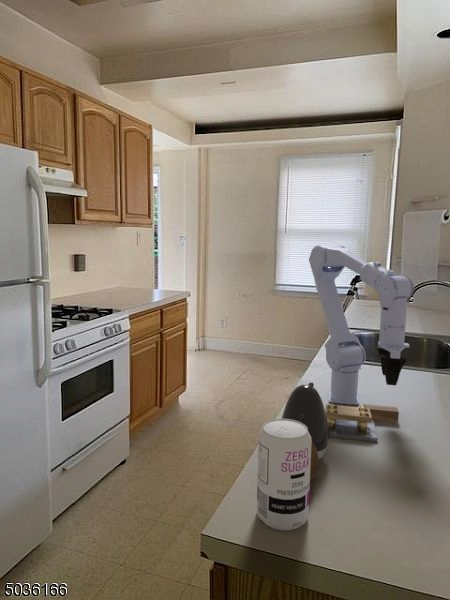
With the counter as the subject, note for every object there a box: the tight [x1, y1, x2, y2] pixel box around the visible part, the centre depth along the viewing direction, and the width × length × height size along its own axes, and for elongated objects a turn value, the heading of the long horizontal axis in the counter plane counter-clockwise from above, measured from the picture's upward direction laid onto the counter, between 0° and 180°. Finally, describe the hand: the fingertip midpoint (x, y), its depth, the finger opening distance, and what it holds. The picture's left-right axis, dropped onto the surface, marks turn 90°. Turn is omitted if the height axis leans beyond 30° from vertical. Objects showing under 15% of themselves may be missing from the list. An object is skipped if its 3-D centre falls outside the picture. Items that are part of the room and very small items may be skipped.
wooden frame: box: [325, 403, 372, 423], centre depth 102 cm, size 6×10×1 cm, turn 77°
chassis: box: [327, 403, 379, 443], centre depth 102 cm, size 10×13×5 cm
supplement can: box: [256, 418, 312, 532], centre depth 69 cm, size 8×8×15 cm
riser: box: [363, 403, 400, 424], centre depth 108 cm, size 3×8×3 cm, turn 77°
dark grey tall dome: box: [281, 381, 330, 461], centre depth 88 cm, size 10×10×15 cm
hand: (389, 379), depth 107 cm, fingers open, 7 cm apart
